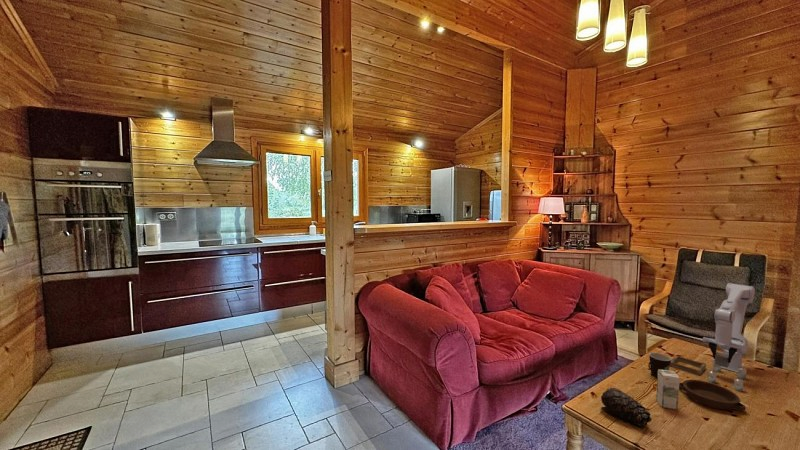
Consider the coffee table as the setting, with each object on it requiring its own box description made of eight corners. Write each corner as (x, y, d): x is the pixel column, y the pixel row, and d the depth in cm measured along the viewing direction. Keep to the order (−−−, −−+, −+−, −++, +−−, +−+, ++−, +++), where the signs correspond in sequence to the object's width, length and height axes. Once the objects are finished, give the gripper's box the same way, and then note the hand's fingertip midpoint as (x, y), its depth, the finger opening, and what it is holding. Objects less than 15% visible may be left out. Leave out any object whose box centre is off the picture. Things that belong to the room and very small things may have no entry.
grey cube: (716, 361, 165) (717, 351, 164) (729, 365, 161) (729, 355, 161) (714, 364, 162) (715, 354, 162) (727, 368, 158) (727, 358, 158)
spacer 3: (737, 376, 164) (738, 366, 163) (746, 378, 161) (747, 368, 161) (736, 378, 162) (737, 368, 162) (745, 380, 160) (746, 370, 159)
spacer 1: (708, 379, 161) (709, 369, 161) (716, 381, 159) (717, 371, 158) (706, 381, 159) (707, 371, 159) (715, 384, 157) (715, 373, 157)
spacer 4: (734, 387, 154) (735, 377, 154) (743, 390, 151) (744, 380, 151) (733, 389, 152) (733, 379, 152) (742, 392, 150) (742, 382, 149)
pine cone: (647, 435, 123) (649, 409, 123) (596, 411, 138) (597, 388, 137) (657, 423, 130) (658, 399, 129) (607, 402, 144) (608, 379, 143)
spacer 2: (713, 368, 171) (713, 359, 171) (721, 371, 169) (721, 361, 168) (712, 370, 169) (712, 361, 169) (720, 372, 167) (720, 363, 166)
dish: (740, 422, 130) (741, 410, 130) (671, 395, 148) (671, 385, 148) (749, 406, 140) (750, 394, 140) (683, 383, 158) (683, 373, 158)
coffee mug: (662, 371, 168) (663, 353, 168) (674, 381, 160) (675, 361, 159) (638, 370, 170) (638, 352, 169) (649, 379, 161) (649, 360, 160)
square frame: (676, 359, 181) (676, 355, 181) (705, 368, 171) (705, 364, 171) (669, 366, 174) (669, 361, 174) (699, 375, 164) (699, 371, 164)
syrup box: (671, 402, 143) (673, 370, 142) (678, 410, 137) (679, 377, 136) (656, 400, 145) (657, 368, 144) (661, 408, 139) (663, 374, 138)
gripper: (701, 330, 164) (700, 357, 165) (743, 340, 152) (741, 368, 153) (705, 327, 168) (703, 353, 169) (746, 336, 157) (744, 364, 158)
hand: (721, 360), depth 162 cm, fingers closed on grey cube, 4 cm apart
